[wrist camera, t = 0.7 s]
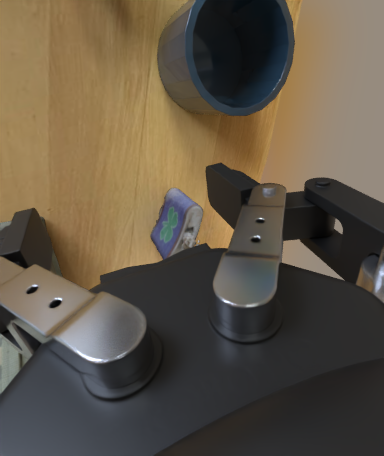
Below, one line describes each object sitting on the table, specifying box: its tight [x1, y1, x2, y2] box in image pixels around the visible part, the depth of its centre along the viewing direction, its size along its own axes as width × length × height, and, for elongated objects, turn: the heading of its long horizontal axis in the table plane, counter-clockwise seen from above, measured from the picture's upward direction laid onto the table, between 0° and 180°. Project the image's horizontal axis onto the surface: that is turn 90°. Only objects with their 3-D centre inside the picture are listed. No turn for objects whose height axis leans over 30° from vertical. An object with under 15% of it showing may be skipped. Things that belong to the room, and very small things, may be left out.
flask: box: [150, 188, 203, 260], centre depth 39 cm, size 9×3×11 cm, turn 156°
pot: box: [157, 0, 295, 116], centre depth 33 cm, size 13×13×10 cm
